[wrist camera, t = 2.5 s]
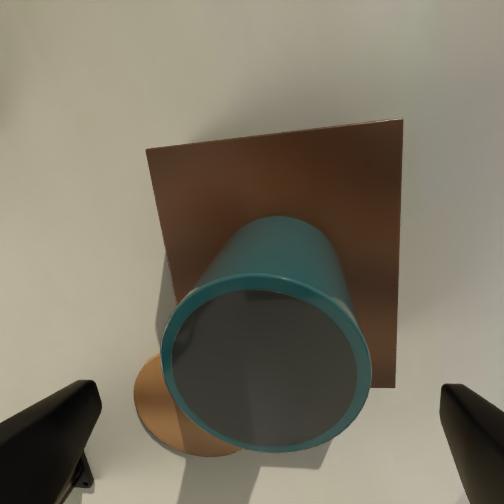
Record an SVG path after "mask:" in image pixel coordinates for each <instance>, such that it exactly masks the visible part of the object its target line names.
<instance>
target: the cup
mask: <svg viewBox="0 0 504 504" xmlns="http://www.w3.org/2000/svg"><path fill="white" fill-rule="evenodd" d="M160 363H161V370H162V374H163V377H164V381H165V384H166V386H167V388H168V390H169V392H170V394H171V396H172V397H173V399H174V401H175V402H176V404H177V405H178V406H179V408H180V409H181V410H182V411H183V413H184V414H185V415H186V416H187V417H188V418H189V419H190V420H191V421H192V422H194V423H195V424H196V425H197V426H199V427H200V428H201V429H203V430H204V431H206V432H207V433H209V434H210V435H212V436H214V437H215V438H217V439H219V440H221V441H223V442H226V443H228V444H231V445H233V446H236V447H240V448H243V449H247V450H252V451H257V452H265V453H288V452H296V451H301V450H306V449H309V448H312V447H315V446H318V445H321V444H323V443H325V442H327V441H329V440H331V439H332V438H334V437H336V436H337V435H339V434H340V433H341V432H342V431H344V430H345V429H346V428H347V427H348V426H349V425H350V424H351V423H352V422H353V421H354V420H355V419H356V417H357V416H358V414H359V413H360V411H361V410H362V408H363V406H364V404H365V401H366V399H367V397H368V393H369V390H370V386H371V377H372V366H371V358H370V354H369V349H368V346H367V343H366V339H365V336H364V333H363V330H362V327H361V324H360V321H359V317H358V314H357V311H356V308H355V305H354V302H353V299H352V296H351V292H350V289H349V286H348V283H347V280H346V277H345V274H344V270H343V267H342V264H341V261H340V258H339V256H338V253H337V251H336V249H335V248H334V246H333V244H332V243H331V242H330V240H329V239H328V238H327V237H326V236H325V235H324V234H323V233H322V232H321V231H320V230H318V229H317V228H316V227H314V226H312V225H310V224H309V223H307V222H304V221H302V220H299V219H296V218H292V217H285V216H270V217H263V218H260V219H256V220H254V221H251V222H249V223H247V224H246V225H244V226H242V227H241V228H239V229H238V230H237V231H236V232H235V233H234V234H233V235H232V236H231V237H230V238H229V239H228V240H227V242H226V243H225V244H224V246H223V247H222V248H221V250H220V251H219V252H218V253H217V255H216V256H215V257H214V259H213V260H212V261H211V263H210V264H209V265H208V267H207V268H206V269H205V270H204V272H203V273H202V274H201V276H200V277H199V278H198V280H197V281H196V282H195V283H194V285H193V286H192V287H191V289H190V290H189V291H188V293H187V294H186V295H185V296H184V298H183V299H182V300H181V302H180V303H179V304H178V306H177V307H176V308H175V310H174V311H173V313H172V314H171V315H170V317H169V319H168V321H167V323H166V325H165V328H164V331H163V335H162V338H161V345H160Z"/></svg>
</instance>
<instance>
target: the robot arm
mask: <svg viewBox="0 0 504 504" xmlns="http://www.w3.org/2000/svg"><path fill="white" fill-rule="evenodd" d="M101 409H102V402H101V399H100V396H99V392H98V389H97V386H96V383H95V382H94V381H93V380H78V381H76V382H74V383H72V384H70V385H68V386H67V387H65V388H63V389H61V390H59V391H57V392H56V393H54V394H52V395H50V396H48V397H47V398H45V399H43V400H41V401H39V402H37V403H36V404H34V405H32V406H30V407H28V408H27V409H25V410H23V411H21V412H19V413H17V414H16V415H14V416H12V417H10V418H8V419H7V420H5V421H3V422H1V423H0V504H63V503H64V502H65V500H66V499H67V497H68V496H69V494H70V493H71V491H72V490H73V488H74V487H79V488H90V487H91V485H92V484H93V482H94V480H93V477H92V474H91V471H90V469H89V466H88V463H87V460H86V457H85V454H84V451H83V450H84V448H85V446H86V443H87V441H88V439H89V437H90V435H91V433H92V430H93V428H94V426H95V424H96V422H97V420H98V417H99V415H100V413H101ZM439 413H440V420H441V424H442V427H443V429H444V432H445V435H446V438H447V441H448V444H449V447H450V450H451V453H452V455H453V458H454V461H455V464H456V467H457V470H458V473H459V476H460V479H461V481H462V484H463V487H464V490H465V492H466V495H467V497H468V500H469V502H470V504H504V412H503V411H502V410H500V409H499V408H497V407H496V406H494V405H493V404H491V403H490V402H488V401H487V400H486V399H484V398H483V397H481V396H480V395H478V394H477V393H475V392H474V391H472V390H471V389H469V388H468V387H466V386H465V385H463V384H444V385H443V386H442V388H441V398H440V411H439Z"/></svg>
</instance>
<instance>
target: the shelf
mask: <svg viewBox="0 0 504 504" xmlns="http://www.w3.org/2000/svg"><path fill="white" fill-rule="evenodd" d="M402 148H403V118H397V119H389V120H381V121H372V122H364V123H356V124H348V125H339V126H331V127H323V128H315V129H306V130H298V131H290V132H282V133H273V134H265V135H257V136H249V137H241V138H232V139H224V140H216V141H208V142H199V143H191V144H183V145H175V146H166V147H158V148H150V149H146V155H147V160H148V165H149V170H150V175H151V180H152V185H153V190H154V195H155V200H156V205H157V210H158V215H159V220H160V225H161V230H162V235H163V240H164V245H165V250H166V255H167V260H168V265H169V270H170V275H171V280H172V285H173V290H174V295H175V300H176V305H177V306H178V304H179V303H180V302H181V300H182V299H183V298H184V296H185V295H186V294H187V293H188V291H189V290H190V289H191V287H192V286H193V285H194V283H195V282H196V281H197V280H198V278H199V277H200V276H201V274H202V273H203V272H204V270H205V269H206V268H207V267H208V265H209V264H210V263H211V261H212V260H213V259H214V257H215V256H216V255H217V253H218V252H219V251H220V250H221V248H222V247H223V246H224V244H225V243H226V242H227V240H228V239H229V238H230V237H231V236H232V235H233V234H234V233H235V232H236V231H237V230H238V229H239V228H241V227H242V226H244V225H246V224H247V223H249V222H251V221H254V220H256V219H260V218H263V217H270V216H285V217H292V218H296V219H299V220H302V221H304V222H307V223H309V224H310V225H312V226H314V227H316V228H317V229H318V230H320V231H321V232H322V233H323V234H324V235H325V236H326V237H327V238H328V239H329V240H330V242H331V243H332V244H333V246H334V248H335V249H336V251H337V253H338V256H339V258H340V261H341V264H342V267H343V270H344V274H345V277H346V280H347V283H348V286H349V289H350V292H351V296H352V299H353V302H354V305H355V308H356V311H357V314H358V317H359V321H360V324H361V327H362V330H363V333H364V336H365V339H366V343H367V346H368V349H369V354H370V358H371V366H372V377H371V386H370V388H395V377H396V344H397V311H398V279H399V246H400V213H401V181H402Z"/></svg>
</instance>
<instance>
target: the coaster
mask: <svg viewBox="0 0 504 504" xmlns="http://www.w3.org/2000/svg"><path fill="white" fill-rule="evenodd" d="M134 401H135V405H136V408H137V411H138V413H139V416H140V418H141V419H142V421H143V422H144V424H145V425H146V426H147V428H148V429H149V430H150V431H151V432H152V433H153V434H154V435H155V436H156V437H157V438H159V439H160V440H161V441H163V442H164V443H166V444H167V445H169V446H171V447H173V448H175V449H177V450H179V451H182V452H184V453H188V454H191V455H196V456H203V457H217V456H224V455H229V454H231V453H234V452H237V451H239V450H241V449H242V448H240V447H236V446H233V445H231V444H228V443H226V442H223V441H221V440H219V439H217V438H215V437H214V436H212V435H210V434H209V433H207V432H206V431H204V430H203V429H201V428H200V427H199V426H197V425H196V424H195V423H194V422H192V421H191V420H190V419H189V418H188V417H187V416H186V415H185V414H184V413H183V411H182V410H181V409H180V408H179V406H178V405H177V404H176V402H175V401H174V399H173V397H172V396H171V394H170V392H169V390H168V388H167V386H166V384H165V381H164V377H163V374H162V370H161V363H160V354H158V355H156V356H154V357H153V358H152V359H150V360H149V361H148V362H147V363H146V364H145V365H144V367H143V368H142V370H141V371H140V372H139V374H138V376H137V378H136V382H135V386H134Z"/></svg>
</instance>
